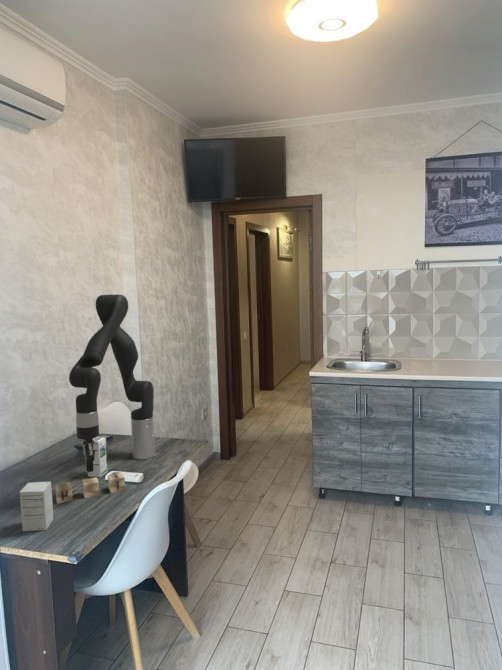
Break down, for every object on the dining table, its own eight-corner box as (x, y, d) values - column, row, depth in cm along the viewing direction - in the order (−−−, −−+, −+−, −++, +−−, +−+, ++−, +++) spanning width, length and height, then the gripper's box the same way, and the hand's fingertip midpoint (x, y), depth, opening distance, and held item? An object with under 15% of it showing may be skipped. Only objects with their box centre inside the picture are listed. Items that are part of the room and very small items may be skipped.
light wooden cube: (71, 495, 173) (70, 481, 173) (72, 501, 169) (71, 487, 168) (56, 498, 171) (55, 484, 170) (57, 504, 166) (56, 490, 166)
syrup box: (101, 477, 189) (99, 441, 187) (87, 476, 190) (85, 440, 188) (108, 472, 194) (106, 436, 193) (94, 471, 195) (92, 436, 194)
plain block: (97, 490, 177) (96, 477, 177) (99, 495, 173) (98, 482, 172) (82, 493, 175) (82, 479, 174) (84, 498, 170) (84, 484, 170)
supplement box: (30, 520, 155) (27, 482, 154) (54, 518, 156) (52, 480, 154) (21, 531, 148) (18, 491, 146) (46, 530, 148) (44, 490, 147)
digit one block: (122, 485, 181) (121, 472, 180) (125, 490, 176) (124, 477, 176) (108, 488, 179) (107, 474, 178) (111, 493, 174) (110, 479, 174)
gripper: (101, 427, 167) (103, 475, 169) (95, 417, 179) (98, 463, 180) (78, 430, 164) (81, 479, 165) (74, 420, 175) (76, 466, 177)
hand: (89, 471), depth 173 cm, fingers closed
